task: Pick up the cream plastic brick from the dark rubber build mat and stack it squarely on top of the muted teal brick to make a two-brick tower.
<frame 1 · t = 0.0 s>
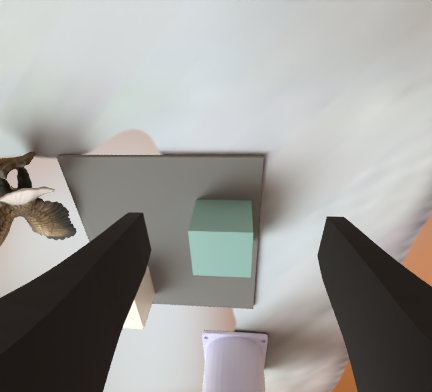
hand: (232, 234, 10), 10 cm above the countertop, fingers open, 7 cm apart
build mat: (172, 242, 25), on the countertop
cream brick: (131, 279, 28), resting on build mat
teal brick: (224, 221, 22), resting on build mat
eagle figurine: (40, 194, 23), on the countertop
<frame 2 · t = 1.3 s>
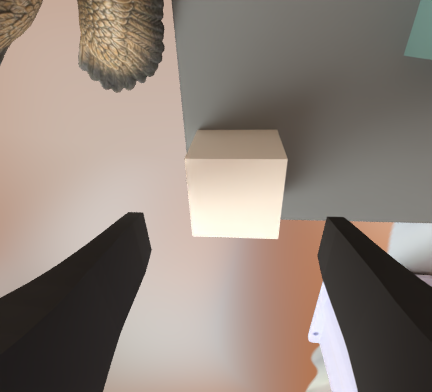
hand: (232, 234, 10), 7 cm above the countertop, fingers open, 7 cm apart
build mat: (336, 73, 13), on the countertop
cream brick: (236, 165, 16), resting on build mat
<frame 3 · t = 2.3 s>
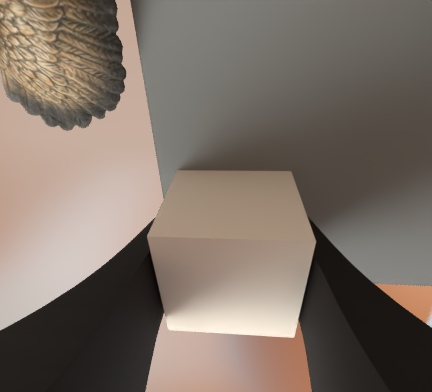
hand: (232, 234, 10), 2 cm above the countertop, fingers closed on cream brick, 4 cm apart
build mat: (383, 92, 9), on the countertop
cream brick: (232, 216, 12), resting on build mat, touching gripper
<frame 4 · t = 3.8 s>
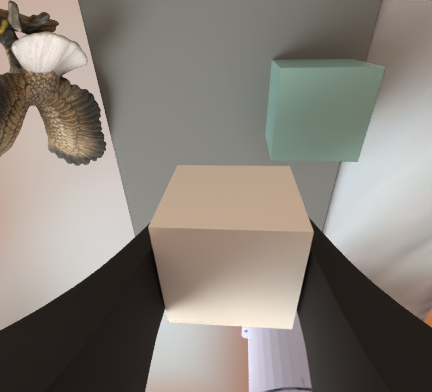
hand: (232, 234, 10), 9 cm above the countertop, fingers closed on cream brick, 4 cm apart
build mat: (224, 143, 18), on the countertop
cream brick: (232, 211, 12), point 8 cm above the countertop, touching gripper
teal brick: (305, 100, 16), resting on build mat
eagle figurine: (60, 94, 18), on the countertop
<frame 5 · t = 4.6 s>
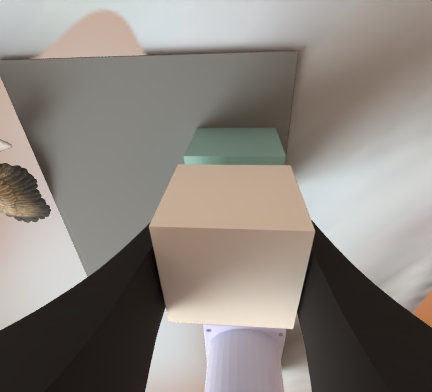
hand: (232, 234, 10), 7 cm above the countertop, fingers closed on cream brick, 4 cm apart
build mat: (164, 199, 18), on the countertop
cream brick: (232, 210, 12), point 6 cm above the countertop, touching gripper
teal brick: (235, 163, 16), resting on build mat
eagle figurine: (2, 160, 18), on the countertop
when the fingers open (7 cm above the countertop, at t = 5.1 s): cream brick stays where it is, resting on teal brick.
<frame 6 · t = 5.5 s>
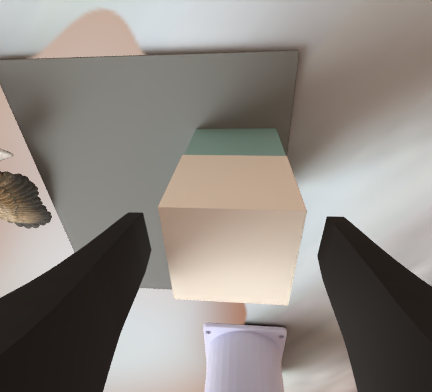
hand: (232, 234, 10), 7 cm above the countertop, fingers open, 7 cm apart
build mat: (163, 201, 18), on the countertop
cream brick: (233, 199, 12), point 4 cm above the countertop, touching teal brick
teal brick: (235, 164, 16), resting on build mat, touching cream brick
eagle figurine: (3, 167, 18), on the countertop
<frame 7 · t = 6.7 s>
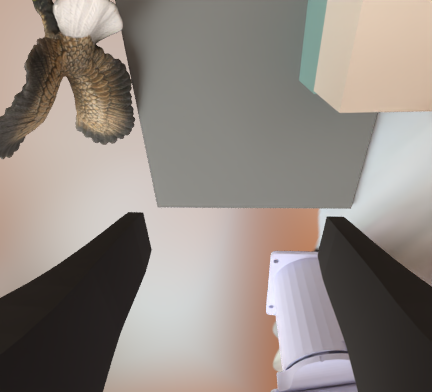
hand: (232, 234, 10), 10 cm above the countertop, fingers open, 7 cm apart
build mat: (253, 93, 17), on the countertop
cream brick: (374, 35, 11), point 4 cm above the countertop, touching teal brick
teal brick: (344, 36, 15), resting on build mat, touching cream brick
eagle figurine: (88, 70, 18), on the countertop
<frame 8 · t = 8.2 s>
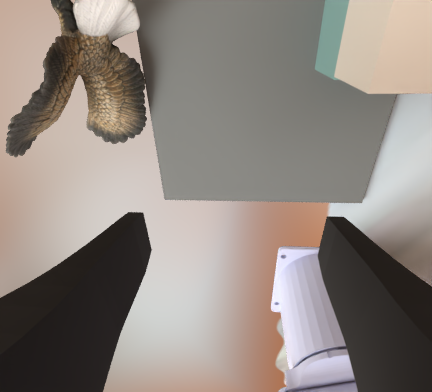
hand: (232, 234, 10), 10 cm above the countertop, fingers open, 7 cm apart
build mat: (267, 82, 17), on the countertop
cream brick: (399, 18, 11), point 4 cm above the countertop, touching teal brick
teal brick: (362, 23, 15), resting on build mat, touching cream brick
eagle figurine: (101, 69, 18), on the countertop
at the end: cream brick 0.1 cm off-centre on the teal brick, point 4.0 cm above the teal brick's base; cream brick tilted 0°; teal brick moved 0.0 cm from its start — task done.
